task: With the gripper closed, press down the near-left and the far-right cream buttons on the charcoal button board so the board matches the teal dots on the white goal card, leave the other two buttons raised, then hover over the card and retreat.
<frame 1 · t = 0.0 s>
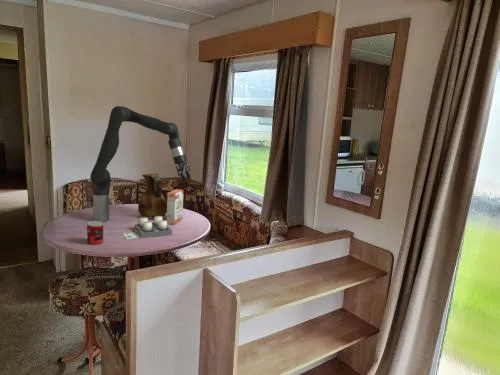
hand: (187, 180, 214), 31 cm above the table, tool tilted 20°, fingers open, 8 cm apart
button B: (158, 220, 218), point 5 cm above the table, slide at 0.0 cm
canned food: (95, 242, 190), on the table
button D: (162, 225, 210), point 5 cm above the table, slide at 0.0 cm
button A: (143, 222, 213), point 5 cm above the table, slide at 0.0 cm
cracker box: (174, 221, 235), on the table
goal card: (132, 235, 204), on the table
button C: (147, 226, 205), point 5 cm above the table, slide at 0.0 cm
board: (153, 231, 213), on the table
ceramic pitcher: (153, 216, 244), on the table
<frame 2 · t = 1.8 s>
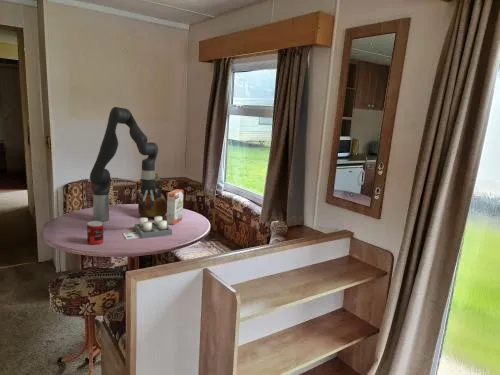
hand: (147, 206, 203), 17 cm above the table, tool pointing down, fingers open, 3 cm apart
nothing on the table moved.
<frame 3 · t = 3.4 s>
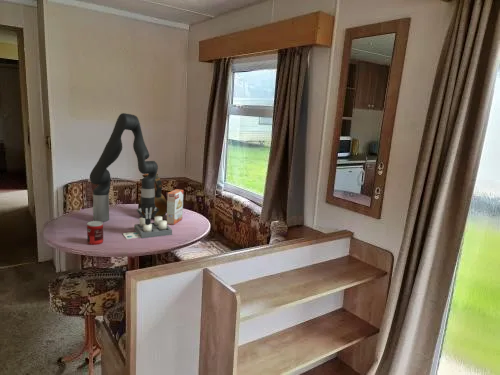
hand: (147, 224, 205), 7 cm above the table, tool pointing down, fingers closed
button C: (147, 228, 206), point 4 cm above the table, slide at 1.1 cm, touching gripper
everything else where it was.
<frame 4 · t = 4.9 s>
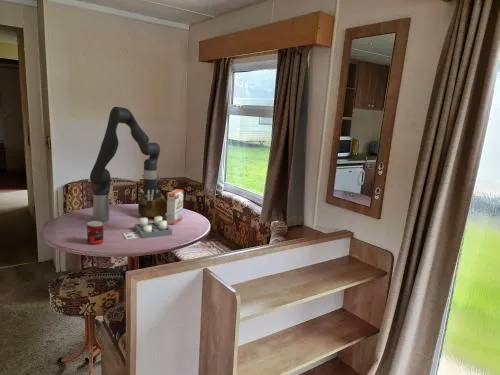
hand: (149, 206, 206), 17 cm above the table, tool pointing down, fingers closed
button C: (147, 229, 206), point 3 cm above the table, slide at 2.0 cm
everything else where it was.
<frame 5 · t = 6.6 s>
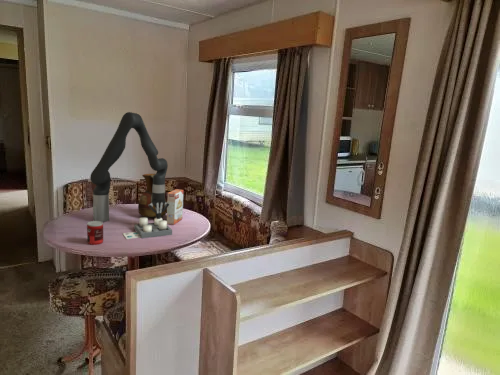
hand: (158, 218, 217), 7 cm above the table, tool pointing down, fingers closed
button B: (158, 222, 218), point 4 cm above the table, slide at 1.0 cm, touching gripper
everything else where it was.
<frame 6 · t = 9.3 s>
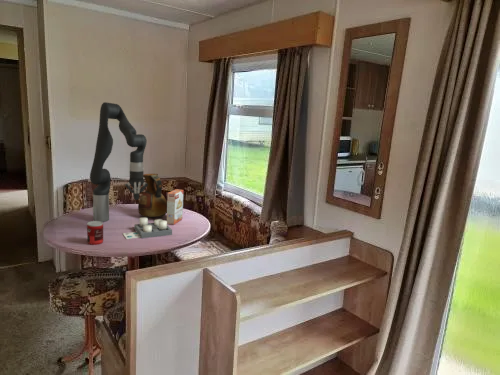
hand: (136, 199, 203), 21 cm above the table, tool pointing down, fingers closed
button B: (158, 223, 218), point 3 cm above the table, slide at 2.0 cm
everything else where it was.
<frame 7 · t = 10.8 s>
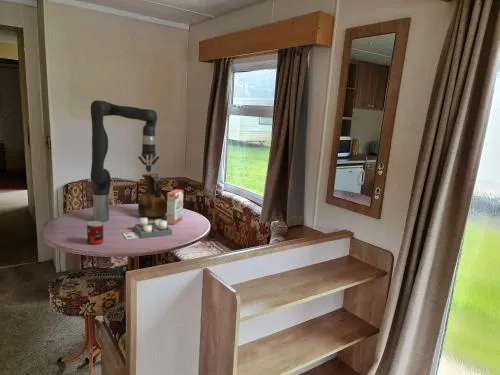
hand: (148, 171, 215), 35 cm above the table, tool pointing down, fingers closed
nothing on the table moved.
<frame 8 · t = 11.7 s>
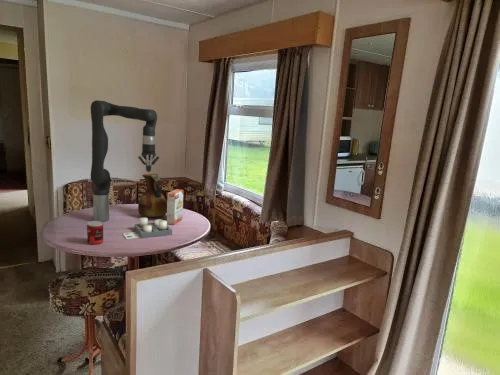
hand: (148, 171, 215), 35 cm above the table, tool pointing down, fingers closed
nothing on the table moved.
at the end: button C slide at 2.0 cm; button B slide at 2.0 cm; button A slide at 0.0 cm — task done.
